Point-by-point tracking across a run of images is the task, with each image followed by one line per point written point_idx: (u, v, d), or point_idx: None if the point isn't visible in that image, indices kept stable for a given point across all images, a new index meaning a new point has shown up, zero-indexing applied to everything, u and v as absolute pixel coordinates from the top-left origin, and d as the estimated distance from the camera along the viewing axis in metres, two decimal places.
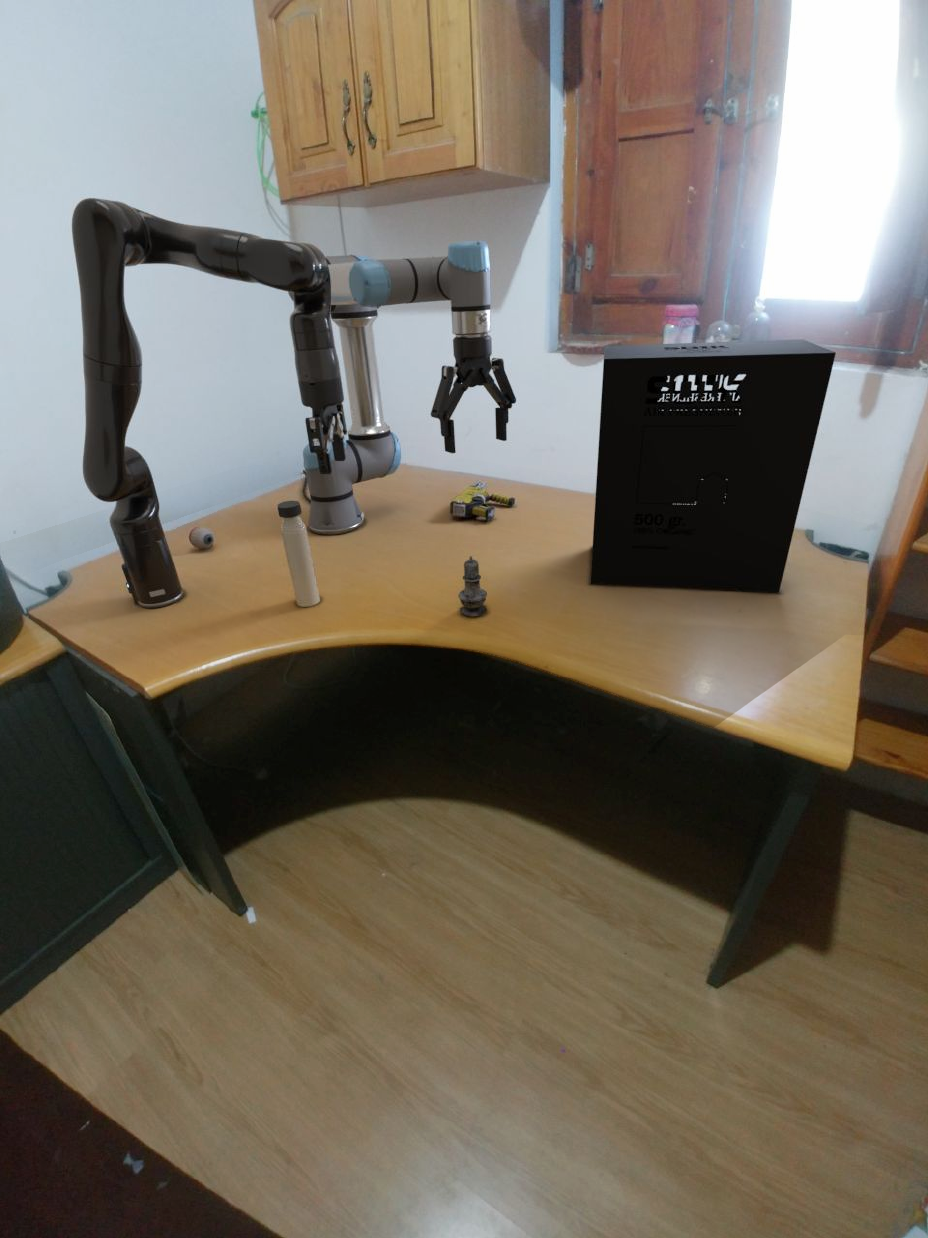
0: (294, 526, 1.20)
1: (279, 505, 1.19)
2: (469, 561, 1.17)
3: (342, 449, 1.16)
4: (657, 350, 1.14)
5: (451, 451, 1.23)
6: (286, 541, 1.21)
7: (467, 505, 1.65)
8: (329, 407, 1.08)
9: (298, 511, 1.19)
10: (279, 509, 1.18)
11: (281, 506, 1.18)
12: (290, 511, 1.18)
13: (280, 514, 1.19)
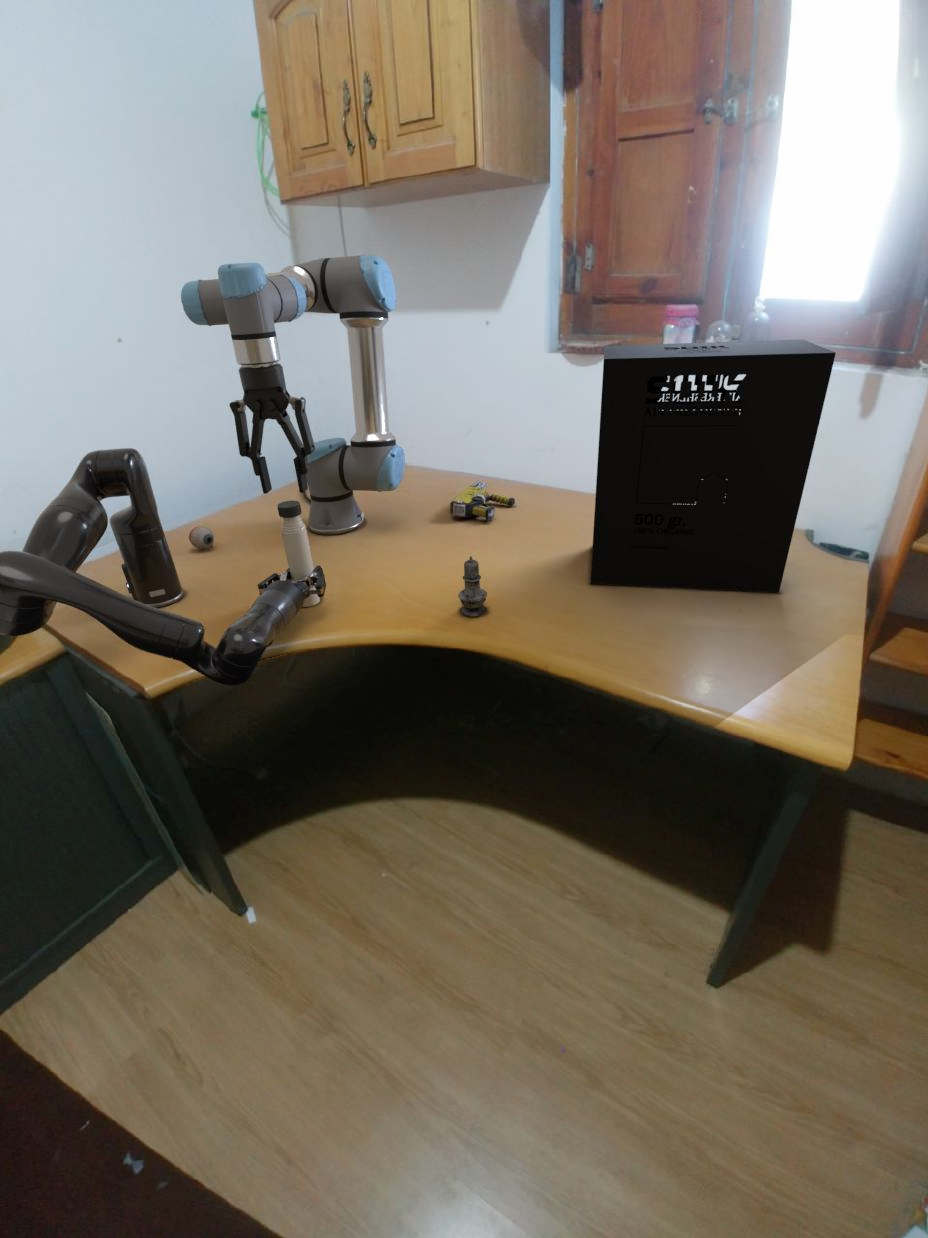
0: (294, 526, 1.20)
1: (279, 505, 1.19)
2: (469, 561, 1.17)
3: None
4: (657, 350, 1.14)
5: (307, 487, 1.18)
6: (286, 541, 1.21)
7: (467, 505, 1.65)
8: None
9: (298, 511, 1.19)
10: (279, 509, 1.18)
11: (281, 506, 1.18)
12: (290, 511, 1.18)
13: (280, 514, 1.19)
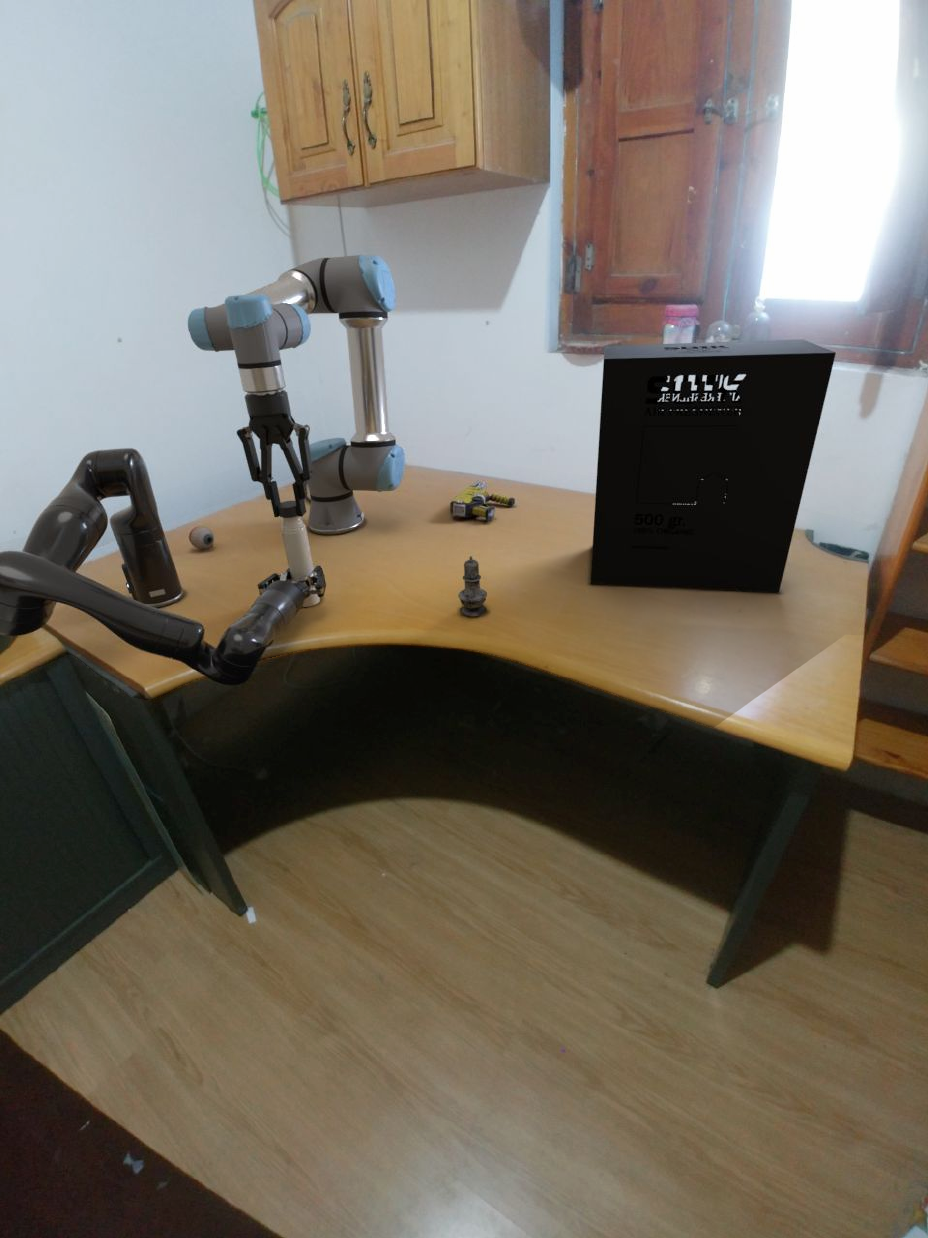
0: (294, 526, 1.20)
1: (279, 505, 1.19)
2: (469, 561, 1.17)
3: None
4: (657, 350, 1.14)
5: (305, 510, 1.21)
6: (286, 541, 1.21)
7: (467, 505, 1.65)
8: None
9: None
10: (279, 509, 1.18)
11: (281, 506, 1.18)
12: (290, 511, 1.18)
13: (280, 514, 1.19)
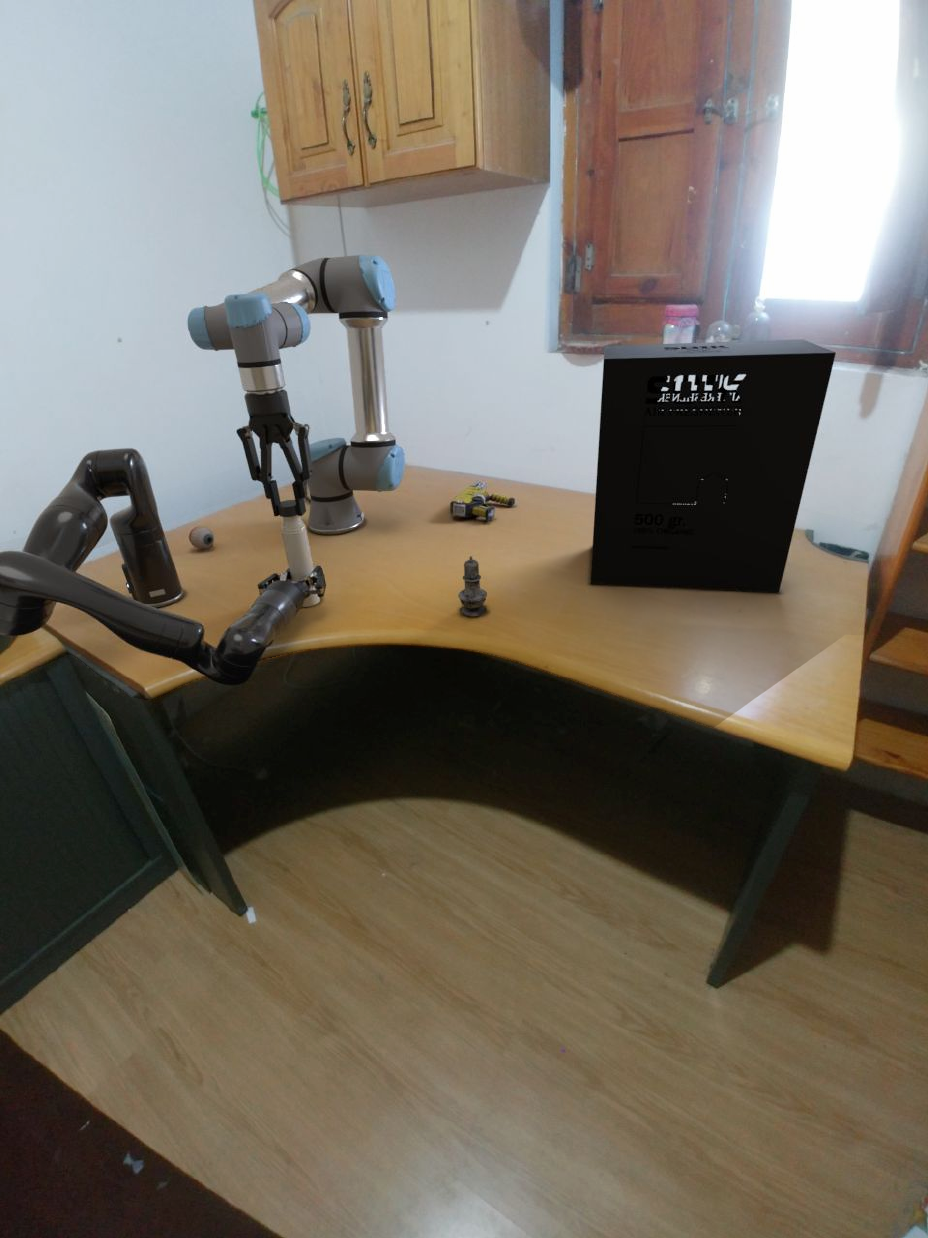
0: (294, 526, 1.20)
1: (295, 504, 1.19)
2: (469, 561, 1.17)
3: None
4: (657, 350, 1.14)
5: (305, 510, 1.21)
6: (286, 541, 1.21)
7: (467, 505, 1.65)
8: None
9: None
10: None
11: None
12: None
13: None
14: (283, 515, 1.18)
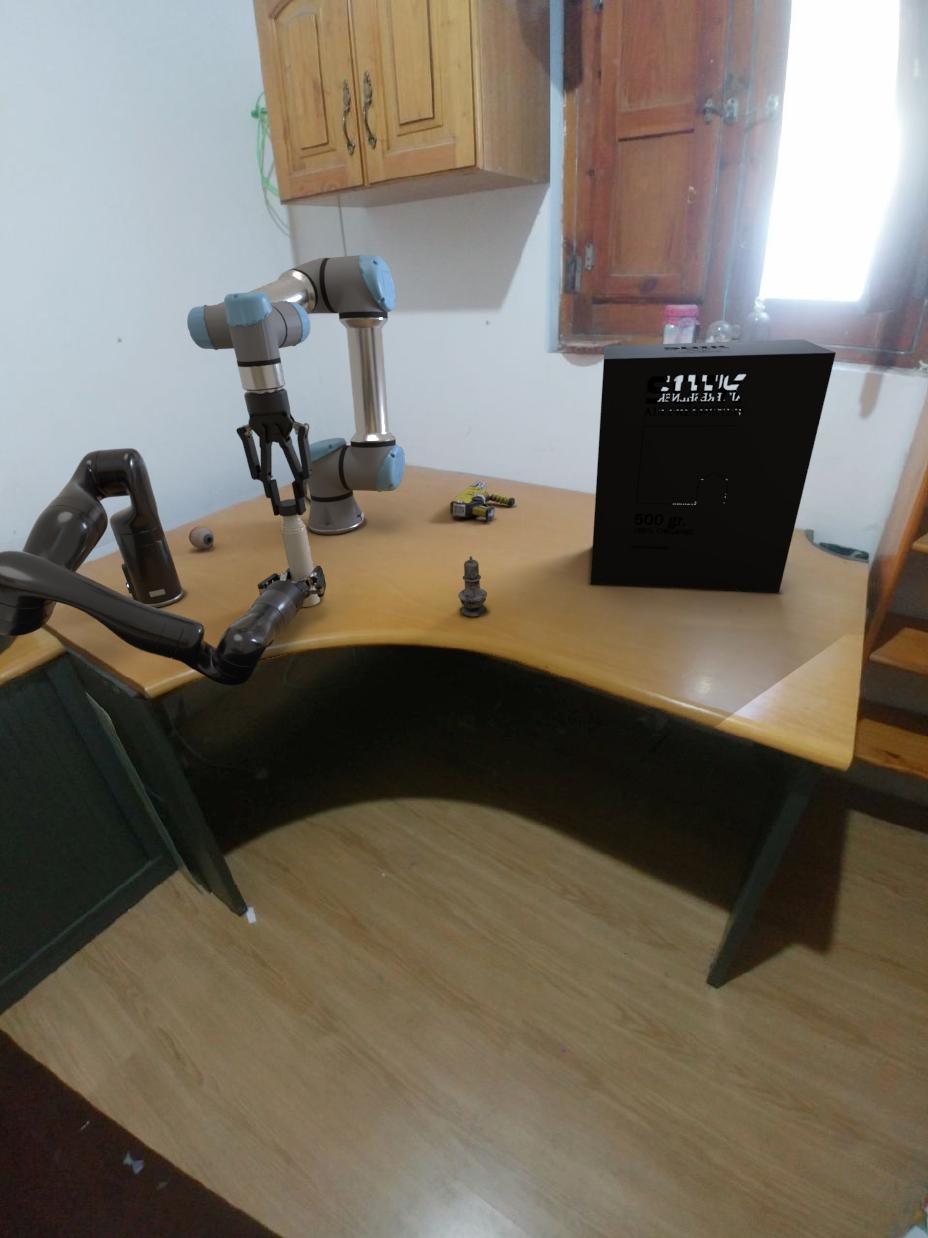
0: (294, 526, 1.20)
1: (286, 500, 1.20)
2: (469, 561, 1.17)
3: None
4: (657, 350, 1.14)
5: (305, 509, 1.21)
6: (286, 541, 1.21)
7: (467, 505, 1.65)
8: None
9: (283, 512, 1.18)
10: None
11: (282, 501, 1.20)
12: (278, 508, 1.19)
13: None
14: None
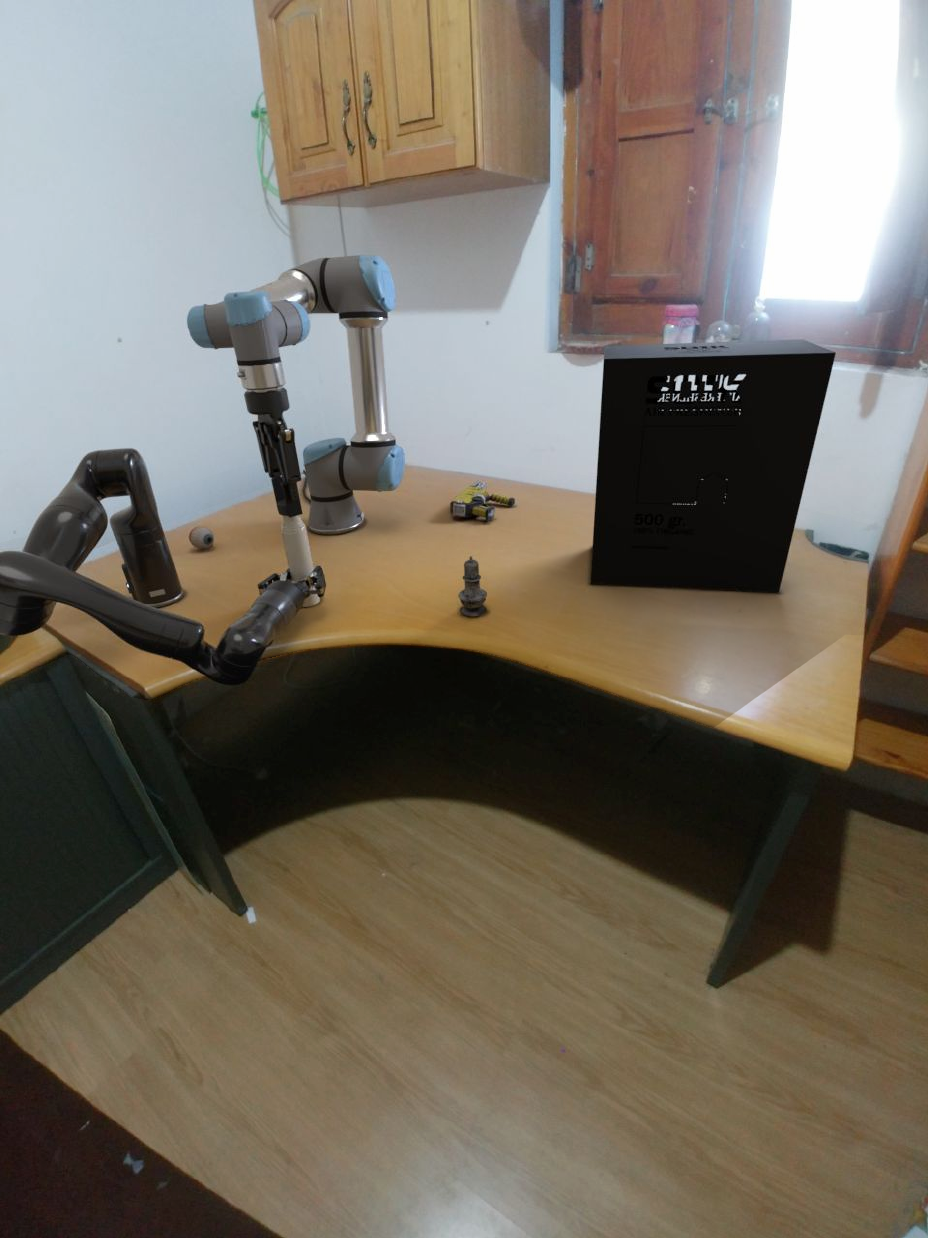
0: (294, 526, 1.20)
1: (283, 504, 1.18)
2: (469, 561, 1.17)
3: None
4: (657, 350, 1.14)
5: None
6: (286, 541, 1.21)
7: (467, 505, 1.65)
8: None
9: None
10: None
11: None
12: None
13: None
14: None
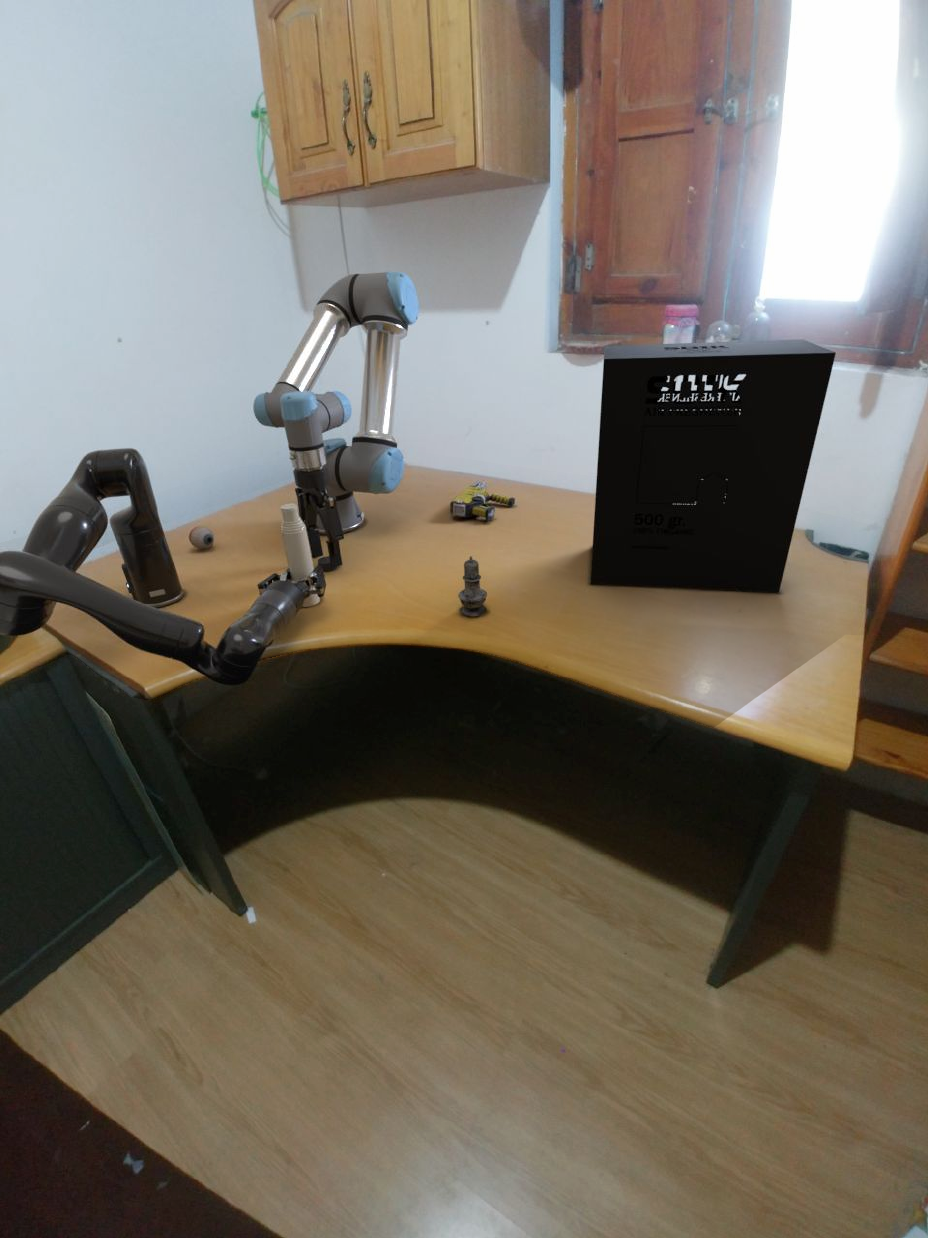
0: (294, 526, 1.20)
1: (323, 562, 1.42)
2: (469, 561, 1.17)
3: None
4: (657, 350, 1.14)
5: None
6: (286, 541, 1.21)
7: (467, 505, 1.65)
8: None
9: None
10: (327, 565, 1.42)
11: (327, 562, 1.43)
12: None
13: (327, 569, 1.43)
14: None
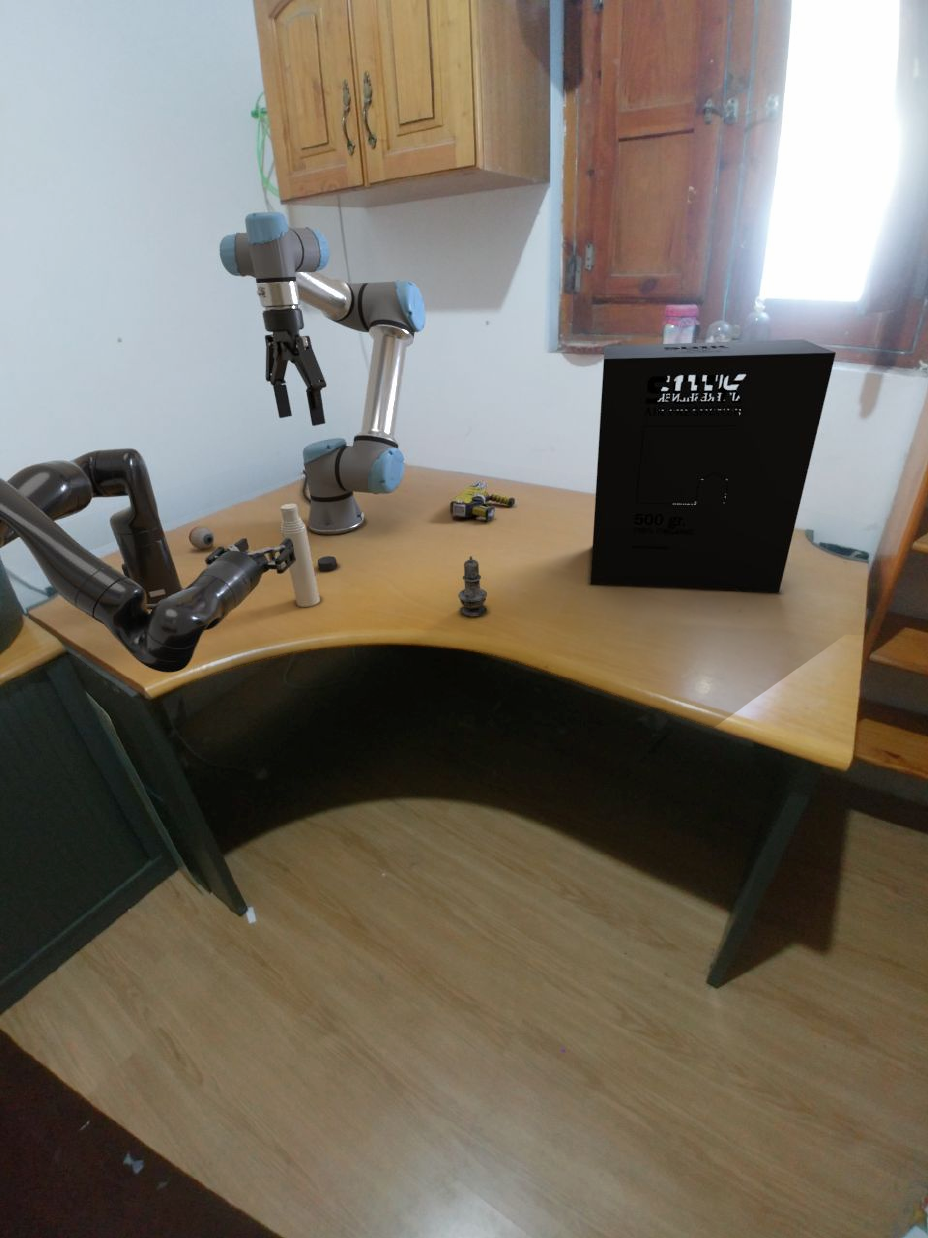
0: (294, 526, 1.20)
1: (323, 562, 1.42)
2: (469, 561, 1.17)
3: (241, 543, 1.09)
4: (657, 350, 1.14)
5: None
6: None
7: (467, 505, 1.65)
8: None
9: None
10: (327, 565, 1.42)
11: (327, 562, 1.43)
12: (335, 563, 1.44)
13: (327, 569, 1.43)
14: None
